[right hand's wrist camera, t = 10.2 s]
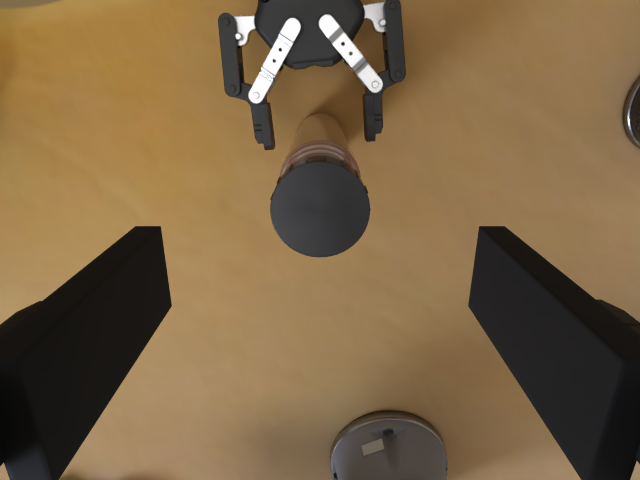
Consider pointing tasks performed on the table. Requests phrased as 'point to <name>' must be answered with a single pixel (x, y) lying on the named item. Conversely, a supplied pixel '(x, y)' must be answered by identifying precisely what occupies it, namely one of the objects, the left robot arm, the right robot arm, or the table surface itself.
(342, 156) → the bottle
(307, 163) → the cap
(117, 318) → the right robot arm
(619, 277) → the table surface
